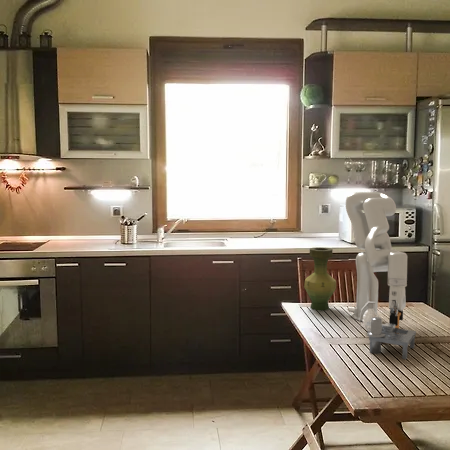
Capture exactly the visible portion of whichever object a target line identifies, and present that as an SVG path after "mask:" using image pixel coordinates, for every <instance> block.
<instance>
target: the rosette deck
mask: <svg viewBox="0 0 450 450" xmlns="http://www.w3.org/2000/svg"><path fill="white" fill-rule="evenodd" d="M366 326H371V331H367V333H366V336H367V337H368V340H369V353H371V354H375V355H376V354H377V355H379V354H382V352H381V351H382V343H384V344H390V345H395V346H396V345H397V346H401V347H402V354H401V355H402V356H401V357H402V359H403V360H407V359H408V348H410V349H414V348H415V341H416V339H415V338H416V337H415V336H416V334H417V331H416V330H411V329H405V328H400V327H399V328H395V324H390V323H389V322H385V323H383V319H382V318H378V317H372V318H371V322H367V323H366Z"/></svg>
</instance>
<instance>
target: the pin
mask: <svg viewBox="0 0 450 450" xmlns="http://www.w3.org/2000/svg"><path fill="white" fill-rule="evenodd" d="M395 313H396V311H395ZM400 315H401V313H400V312H398V313H397V316H398V325H397V326H395V328H400V320H399V316H400Z"/></svg>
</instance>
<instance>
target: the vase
mask: <svg viewBox="0 0 450 450" xmlns="http://www.w3.org/2000/svg"><path fill="white" fill-rule="evenodd" d="M309 257H312V259H313V263H314V267H313V269H314V272H313V273H311V274H310V275H309V276H307V277H306V278H305V280H304V284H303V285H304V286H303V288H304V289H305V291H306V293H307V295H308V297H309V299H310V301H311V303H310V307H309V308H310V309H311V310H314V311H321V312H322V311H328V310H329V309H330V305H329V300H330V299H331V297H333V294H334V293H335V291H336V289H337V280H336V279H335V278H333V277H332V276H331V275H330V274H329V273H328V261H329V259H330V258H332V257H333V248H330V247H316V246H315V247H310V248H309Z"/></svg>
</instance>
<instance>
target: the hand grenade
mask: <svg viewBox="0 0 450 450" xmlns="http://www.w3.org/2000/svg"><path fill="white" fill-rule="evenodd" d="M373 303H374V304H375V302H367V303H366V304H365V306H364V307H363V308H362V309H361V313H360V318H359V320H358V321H359V325H360V329H361V330H362V328H364V329H365V330H366V331H367V332H368V331H371V326H366V323H367V322H371V318H372V317H378V316H377V314H378V313H377V314H376V312H375V311H374V309H373ZM367 305H368V306H367ZM366 306H367V308H368V309H367V311H366V312H365V313H364V315H363V321H360V319H361V314H362V310H363V309H364V308H365V307H366ZM361 322H362V323H361ZM362 324H363V327H362Z"/></svg>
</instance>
